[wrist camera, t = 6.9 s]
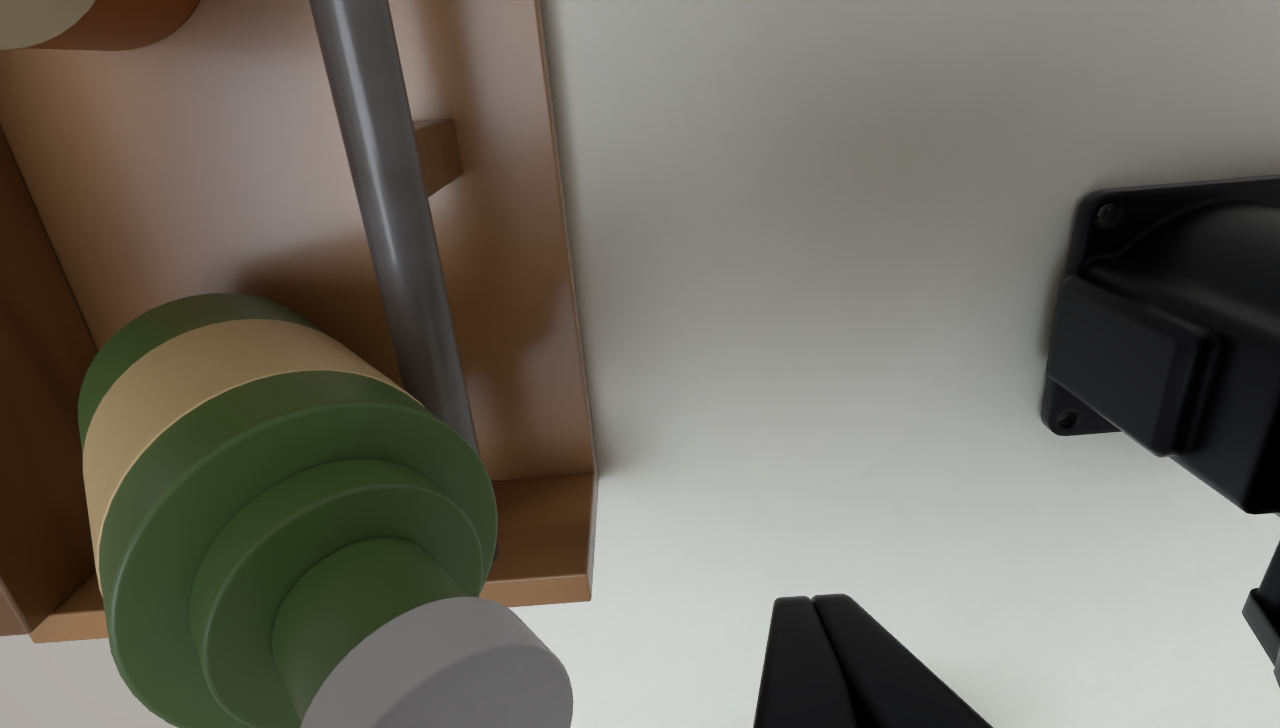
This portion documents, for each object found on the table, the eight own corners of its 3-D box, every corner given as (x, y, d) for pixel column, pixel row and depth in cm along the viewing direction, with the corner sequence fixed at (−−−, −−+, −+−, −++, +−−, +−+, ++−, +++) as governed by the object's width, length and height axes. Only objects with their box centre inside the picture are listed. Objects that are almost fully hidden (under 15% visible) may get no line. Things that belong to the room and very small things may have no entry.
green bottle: (583, 243, 16) (517, 620, 5) (605, 438, 18) (593, 1000, 7) (137, 281, 16) (-883, 742, 5) (212, 472, 18) (-394, 1084, 7)
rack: (487, -430, 12) (390, -784, 7) (598, 480, 19) (590, 622, 14) (-216, -363, 12) (-803, -661, 7) (166, 514, 20) (11, 666, 15)
